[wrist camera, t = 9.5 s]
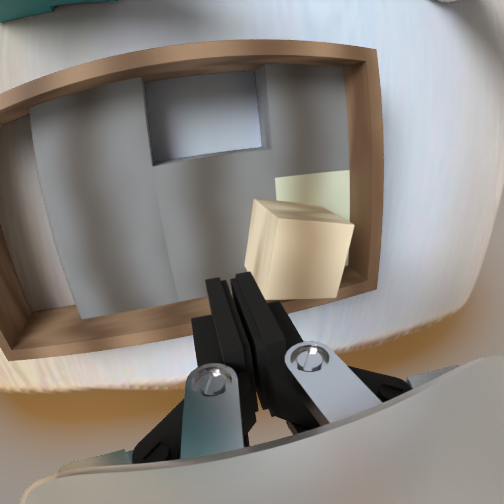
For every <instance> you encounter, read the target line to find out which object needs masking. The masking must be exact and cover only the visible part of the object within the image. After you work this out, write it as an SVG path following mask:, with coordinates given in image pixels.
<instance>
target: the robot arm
mask: <svg viewBox="0 0 504 504" xmlns="http://www.w3.org/2000/svg"><path fill="white" fill-rule="evenodd" d="M437 1H440V2H447V3H448V2H454V1H457V0H437ZM230 281H231V289H232V295H231V292H230V289H229V286H228V284H227V281H226V280H222V281H221V280H220V277H217V278H211V279H206V280H205V283H206V289H207V294H208V300H209V305H210V310H211V315H206V316H200V317H195V318H191V323H192V331H193V338H194V345H195V352H196V358H197V365H198V367H197V368H196V369H195V370H193V371H192V372H191V373H190V374H189V376H188V377H187V380H186V385H185V397H184V399H183V400H182V401H181V402H180V403H179V404H178V405H177V406H176V407H175V408H174V409H173V410H172V411H171V412H170V413H169V414H168V415H167V416H166V417H165V418H164V419H163V420H162V421H161V422H160V423H159V424H158V425H157V426H156V427H155V428H154V429H153V430H152V431H151V432H150V433H148V434H147V435H146V436H145V438H143V439H142V440H141V441H140V442H139V443H138V444H137V446H136V447H135V448H134V450H132V451H129V452H126V451H125V450H124V449H123V450H119V451H116V452H112V453H108V454H104V455H100V456H96V457H91V458H87V459H82V460H77V461H73V462H69V463H67V464H65V465H64V466H62V467H61V468H60V470H59V472H58V473H56V474H53V475H50V476H47V477H45V478H42V479H40V480H38V481H36V482H34V483H33V484H31V485H30V486H29V487H28V488H27V489H26V490H25V491H24V492H23V494H22V496H21V498H20V500H19V503H18V504H504V355H495V356H489V357H484V358H481V359H477V360H474V361H471V362H469V363H466V364H464V365H461V366H459V365H456V366H450V367H446V368H443V369H439V370H435V371H431V372H427V373H423V374H419V375H415V376H410V377H407V380H406V381H403V380H402V379H399V378H396V377H391V376H388V375H383V374H379V373H375V372H371V371H367V370H362V369H359V368H354V367H351V366H347V365H346V364H344V362H343V361H342V360H341V359H340V358H339V357H338V356H337V355H336V354H335V353H334V352H333V351H332V350H331V349H330V348H329V347H328V346H326V345H324V344H322V343H319V342H313V341H310V342H304V341H303V340H302V338H301V336H300V335H299V333H298V331H297V330H296V328H295V326H294V325H293V323H292V321H291V319H290V318H289V316H288V314H287V313H286V311H285V309H284V308H283V306H282V304H281V303H280V301H274V302H270V303H267V302H266V300H265V298H264V296H263V294H262V293H261V291H260V289H259V287H258V285H257V283H256V281H255V279H254V277H253V275H252V273H251V272H250V271H249V272H243V273H238V274H235V278H233V279H230ZM232 296H233V298H232ZM256 392H257V395H258V398H259V400H260V403H261V406H262V408H263V410H265V409H269V411H270V414H271V416H272V417H274V416H276V417H279V418H281V419H284V420H286V423H287V426H288V428H289V429H290V431H291V432H292V434H293V435H292V436H289V437H285V438H281V439H278V440H274V441H270V442H267V443H262V444H258V445H254V446H250V445H249V436H248V432H249V431H250V429H251V428H252V426H253V425H254V424H255V422H256V415H255V412H257V411H258V403H257V396H256Z"/></svg>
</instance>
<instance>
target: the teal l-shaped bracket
mask: <svg viewBox="0 0 504 504" xmlns="http://www.w3.org/2000/svg"><path fill="white" fill-rule="evenodd" d="M97 1H118V0H0V22H5V21H9V20H13V19H18V18H23V17H28V16H33V15H38V14H43V13H49V12H53V11H54V7H55V5H63V4H72V3H82V2H97Z"/></svg>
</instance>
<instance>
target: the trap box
mask: <svg viewBox="0 0 504 504" xmlns="http://www.w3.org/2000/svg"><path fill="white" fill-rule="evenodd" d="M254 70H255V79H256V89H257V99H258V110H259V120H260V131H261V142H262V147H259V148H250V149H241V150H233V151H225V152H218V153H211V154H204V155H197V156H191V157H185V158H179V159H173V160H167V161H162V162H156V163H154V159H153V152H152V145H151V137H150V130H149V122H148V113H147V104H146V95H145V85H144V83H145V82H151V81H157V80H163V79H169V78H176V77H183V76H191V75H200V74H210V73H221V72H234V71H254ZM28 114H30V124H31V132H32V140H33V147H34V153H35V159H36V165H37V171H38V176H39V181H40V186H41V191H42V195H43V200H44V204H45V208H46V212H47V216H48V220H49V224H50V228H51V231H52V235H53V239H54V242H55V245H56V249H57V252H58V255H59V258H60V262H61V265H62V268H63V271H64V274H65V276H66V279H67V282H68V285H69V288H70V291H71V293H72V296H73V299H74V301H75V304H76V305H73V306H67V307H62V308H56V309H50V310H44V311H38V312H31V310H30V308H29V305H28V303H27V301H26V298H25V296H24V293H23V291H22V288H21V286H20V283H19V281H18V278H17V275H16V273H15V270H14V267H13V264H12V261H11V259H10V256H9V253H8V249H7V246H6V243H5V240H4V237H3V233H2V230H1V226H0V347H1V349H2V351H3V353H4V354H5V356H6V358H7V360H8V361H15V360H26V359H37V358H46V357H55V356H64V355H72V354H80V353H87V352H95V351H102V350H109V349H115V348H122V347H128V346H134V345H140V344H146V343H152V342H158V341H163V340H169V339H174V338H179V337H185V336H190V335H193V331H192V323H191V318H195V317H200V316H206V315H211V310H210V305H209V300H208V294H207V289H206V283H205V280H206V279H211V278H217V277H220V280H221V281H222V280H226V281H227V284H228V286H229V289H230V292H231V295H232V289H231V281H230V279H233V278H235V274H238V273H243V272H248V271H247V269H246V268H245V266H244V265H245V257H246V250H247V243H248V236H249V229H250V222H251V215H252V208H253V201H254V198H255V199H266V200H277V201H287V202H297V203H307V204H316V205H320V206H322V207H323V208H325V209H327V210H329V211H331V212H333V213H334V214H336V215H338V216H340V217H342V218H343V219H345V220H347V221H349V222H350V223H352V224H354V229H353V234H352V238H351V242H350V246H349V251H348V255H347V259H346V263H345V267H344V270H343V274H342V278H341V282H340V285H339V289H338V293H337V296H336V298H319V299H286V300H266V302H267V303H270V302H274V301H280V303H281V304H282V306H283V308H284V309H285V311H286V313H287V314H288V313H292V312H296V311H300V310H304V309H308V308H312V307H315V306H319V305H323V304H326V303H330V302H334V301H337V300H341V299H344V298H348V297H352V296H355V295H358V294H362V293H365V292H369V291H372V290H375V289H377V281H378V271H379V260H380V248H381V234H382V215H383V182H384V153H383V121H382V103H381V89H380V78H379V68H378V59H377V51H376V49H371V48H365V47H358V46H351V45H344V44H335V43H325V42H314V41H299V40H225V41H210V42H198V43H188V44H180V45H172V46H165V47H158V48H152V49H146V50H141V51H135V52H130V53H125V54H121V55H116V56H112V57H108V58H103V59H99V60H96V61H92V62H88V63H84V64H81V65H77V66H74V67H71V68H68V69H64V70H61V71H58V72H55V73H52V74H49V75H46V76H44V77H41V78H38V79H35V80H33V81H30V82H28V83H25V84H23V85H20V86H18V87H15V88H13V89H11V90H8V91H6V92H4V93H2V94H0V126H1V125H3V124H5V123H8V122H10V121H13V120H15V119H18V118H20V117H23V116H26V115H28ZM232 298H233V296H232Z"/></svg>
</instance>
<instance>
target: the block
mask: <svg viewBox="0 0 504 504" xmlns="http://www.w3.org/2000/svg"><path fill="white" fill-rule="evenodd" d="M353 229H354V224H352V223H350V222H349V221H347V220H345V219H343V218H342V217H340V216H338V215H336V214H334V213H333V212H331V211H329V210H327V209H325V208H323V207H322V206H320V205H316V204H307V203H297V202H287V201H277V200H266V199H255V198H254V201H253V208H252V215H251V222H250V229H249V236H248V243H247V250H246V257H245V265H244V266H245V268H246V269H247V271H248V272H249V271H250V272H251V273H252V275H253V277H254V279H255V281H256V283H257V285H258V287H259V289H260V291H261V293H262V294H263V296H264V298H265V300H286V299H319V298H336V296H337V293H338V289H339V285H340V282H341V278H342V274H343V270H344V267H345V263H346V259H347V255H348V251H349V246H350V242H351V238H352V234H353Z"/></svg>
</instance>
